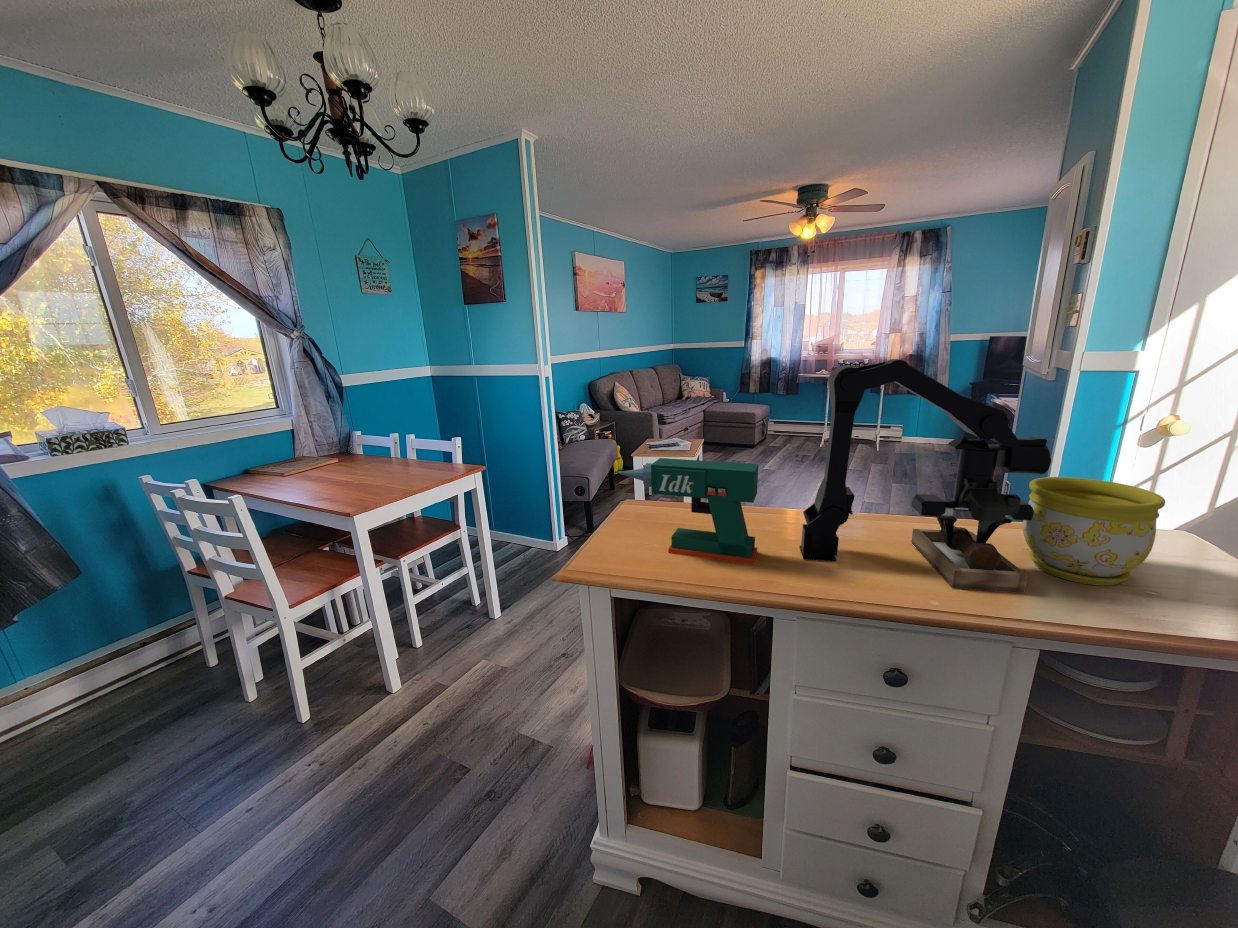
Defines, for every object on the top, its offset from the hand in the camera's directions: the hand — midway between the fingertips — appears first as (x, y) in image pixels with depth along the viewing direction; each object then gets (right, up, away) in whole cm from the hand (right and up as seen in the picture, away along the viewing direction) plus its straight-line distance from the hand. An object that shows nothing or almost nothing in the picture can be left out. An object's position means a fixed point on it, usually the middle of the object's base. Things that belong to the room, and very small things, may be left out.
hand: (963, 547), depth 95 cm
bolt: (0, -2, 0) cm, 2 cm away
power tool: (-54, -3, +13) cm, 56 cm away
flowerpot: (+20, -4, -2) cm, 21 cm away
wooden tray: (0, -4, +1) cm, 4 cm away
